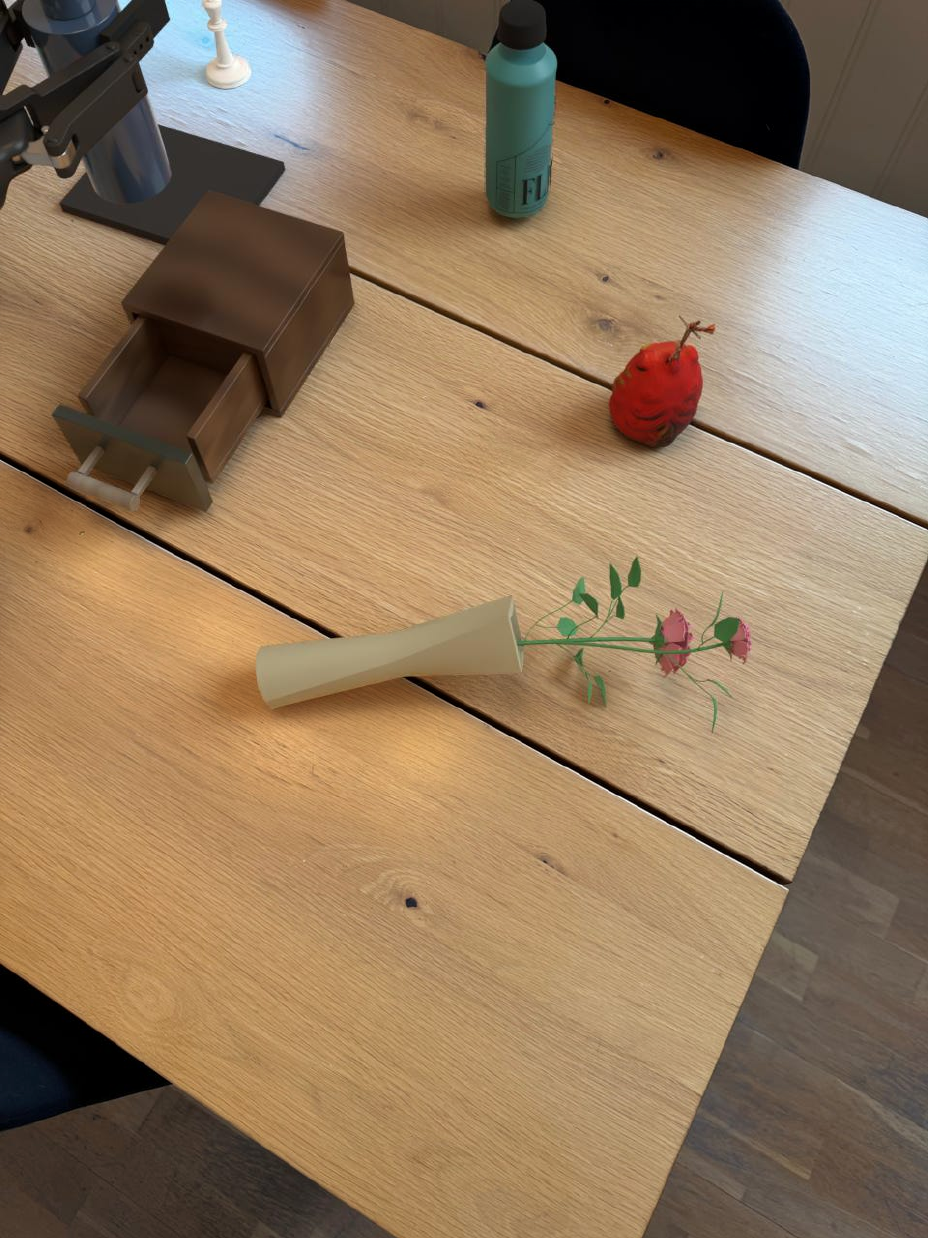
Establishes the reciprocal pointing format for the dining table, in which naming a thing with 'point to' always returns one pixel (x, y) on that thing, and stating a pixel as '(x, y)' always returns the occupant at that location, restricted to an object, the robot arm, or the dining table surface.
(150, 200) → the mat
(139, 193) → the blue bottle
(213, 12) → the chess piece
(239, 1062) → the dining table surface
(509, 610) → the flower vase
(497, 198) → the beverage bottle
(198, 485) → the drawer
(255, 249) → the cabinet
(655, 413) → the red fruit with stem
